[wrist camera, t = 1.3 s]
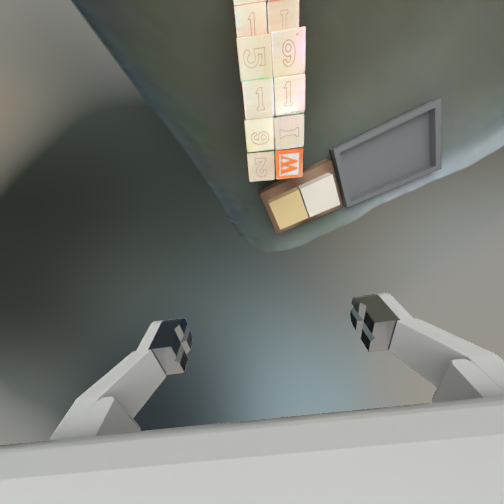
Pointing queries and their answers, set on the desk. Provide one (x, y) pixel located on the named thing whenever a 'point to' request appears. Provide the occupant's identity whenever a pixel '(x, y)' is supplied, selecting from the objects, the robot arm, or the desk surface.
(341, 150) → the tray
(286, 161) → the stack of blocks
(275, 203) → the ochre tile
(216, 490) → the robot arm
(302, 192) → the cream tile
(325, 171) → the walnut ledge
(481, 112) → the desk surface
